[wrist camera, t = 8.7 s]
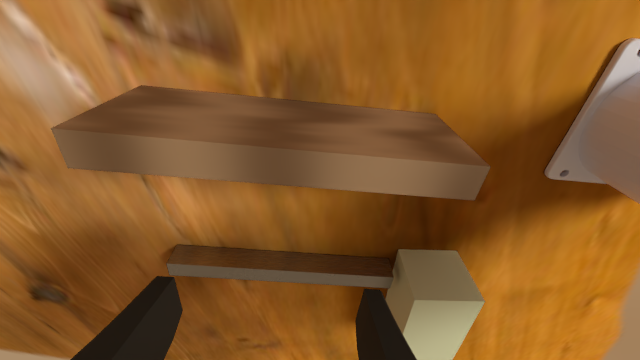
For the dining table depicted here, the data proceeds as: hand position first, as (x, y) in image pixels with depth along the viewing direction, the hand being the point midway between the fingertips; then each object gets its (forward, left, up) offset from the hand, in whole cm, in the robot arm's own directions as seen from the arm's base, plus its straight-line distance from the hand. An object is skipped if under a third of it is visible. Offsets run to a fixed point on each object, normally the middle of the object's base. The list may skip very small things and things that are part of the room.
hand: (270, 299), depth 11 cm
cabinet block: (-11, +9, -9) cm, 17 cm away
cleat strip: (0, +7, -8) cm, 11 cm away
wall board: (0, -4, -8) cm, 10 cm away
